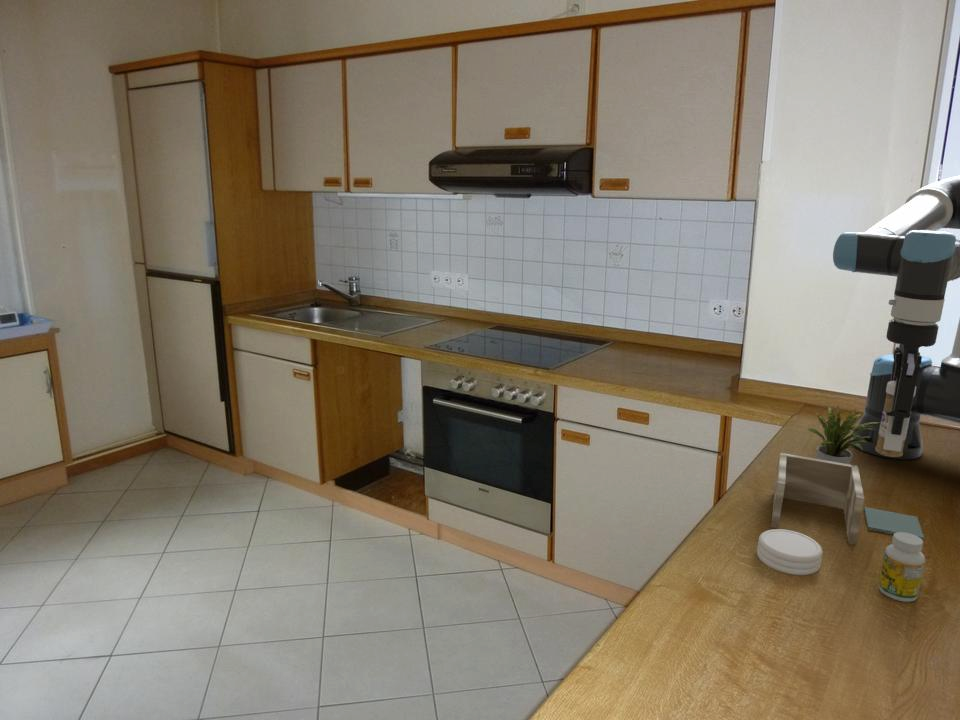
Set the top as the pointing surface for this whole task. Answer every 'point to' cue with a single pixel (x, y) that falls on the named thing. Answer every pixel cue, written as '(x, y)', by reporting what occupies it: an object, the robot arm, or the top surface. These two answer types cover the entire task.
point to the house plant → (838, 437)
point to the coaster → (789, 552)
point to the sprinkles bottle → (884, 422)
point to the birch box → (820, 488)
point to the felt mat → (892, 522)
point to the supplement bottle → (902, 567)
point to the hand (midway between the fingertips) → (890, 444)
